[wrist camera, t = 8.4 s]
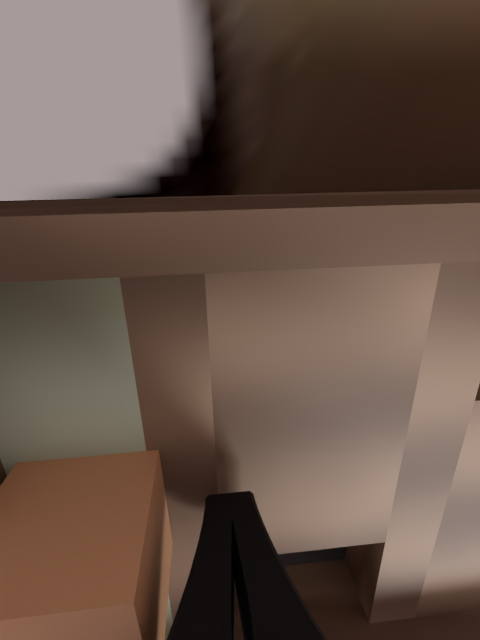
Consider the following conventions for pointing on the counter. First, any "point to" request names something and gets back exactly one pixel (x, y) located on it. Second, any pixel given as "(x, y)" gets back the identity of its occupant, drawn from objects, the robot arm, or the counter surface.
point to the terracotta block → (85, 549)
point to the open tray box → (269, 380)
